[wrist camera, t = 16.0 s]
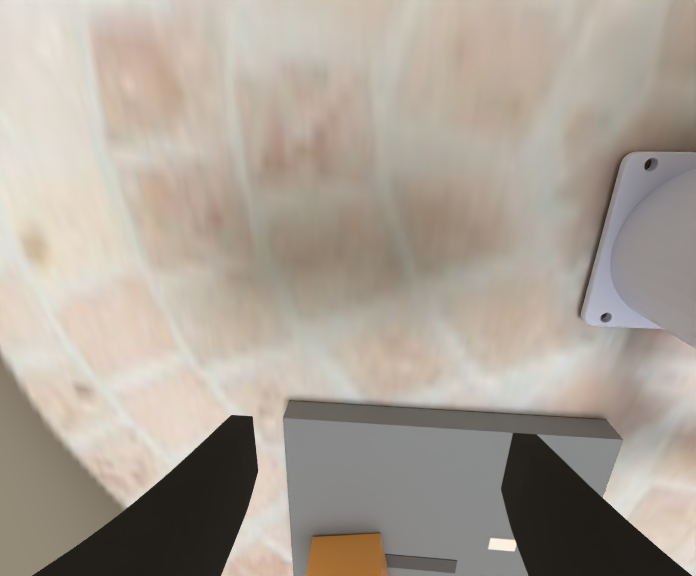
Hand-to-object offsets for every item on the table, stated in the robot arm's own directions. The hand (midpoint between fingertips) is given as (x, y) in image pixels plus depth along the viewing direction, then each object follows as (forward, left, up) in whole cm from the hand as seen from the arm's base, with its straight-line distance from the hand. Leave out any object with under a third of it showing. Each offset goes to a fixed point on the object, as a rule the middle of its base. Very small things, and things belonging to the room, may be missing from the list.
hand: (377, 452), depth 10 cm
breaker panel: (-4, +13, -9) cm, 17 cm away
